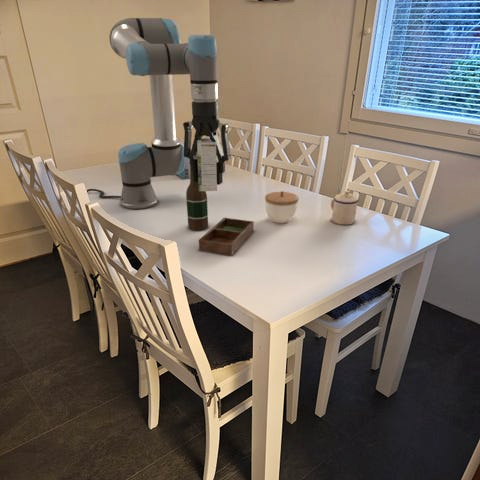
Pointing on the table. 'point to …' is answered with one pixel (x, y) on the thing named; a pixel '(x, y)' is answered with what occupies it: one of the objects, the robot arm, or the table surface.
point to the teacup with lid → (344, 208)
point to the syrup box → (207, 165)
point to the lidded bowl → (281, 206)
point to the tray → (226, 236)
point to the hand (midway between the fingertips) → (208, 182)
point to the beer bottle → (196, 206)
